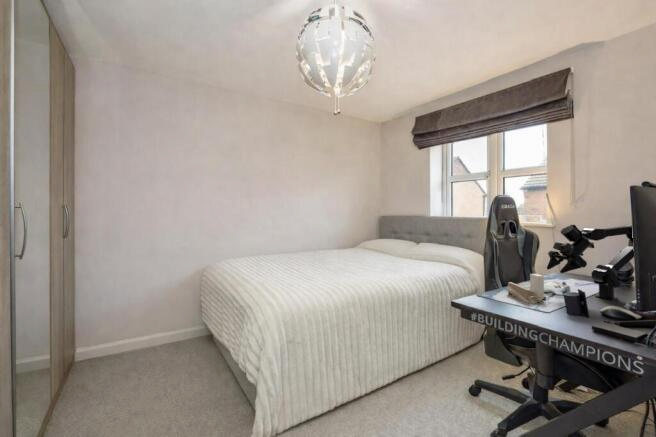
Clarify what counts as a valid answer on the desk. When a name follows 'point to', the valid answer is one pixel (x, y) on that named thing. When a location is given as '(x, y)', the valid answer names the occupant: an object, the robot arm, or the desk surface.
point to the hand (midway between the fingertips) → (553, 270)
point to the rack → (523, 293)
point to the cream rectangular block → (537, 284)
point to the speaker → (576, 303)
